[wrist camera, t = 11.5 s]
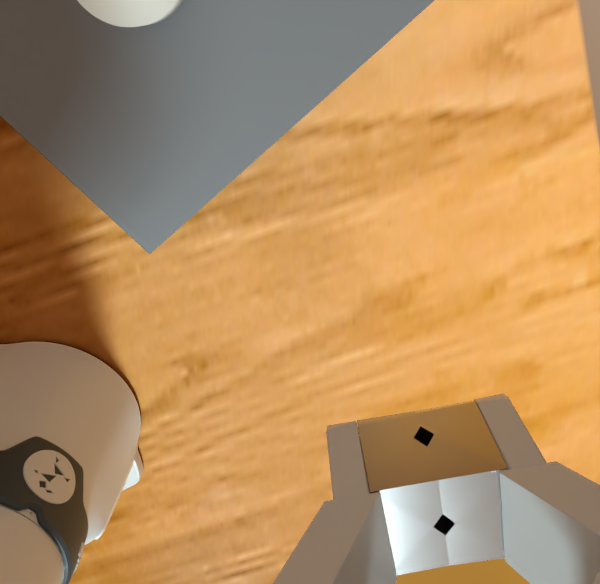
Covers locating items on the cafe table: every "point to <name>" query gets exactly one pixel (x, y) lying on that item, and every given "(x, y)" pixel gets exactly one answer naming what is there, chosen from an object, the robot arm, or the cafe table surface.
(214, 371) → the cafe table surface
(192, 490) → the cafe table surface
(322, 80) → the dial plate
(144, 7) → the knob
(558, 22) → the cafe table surface
